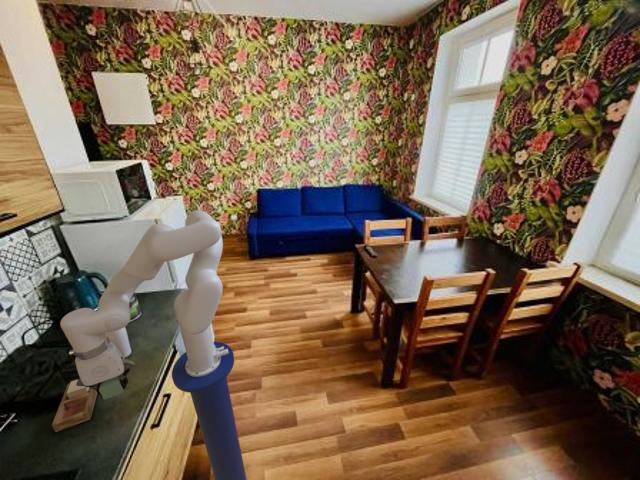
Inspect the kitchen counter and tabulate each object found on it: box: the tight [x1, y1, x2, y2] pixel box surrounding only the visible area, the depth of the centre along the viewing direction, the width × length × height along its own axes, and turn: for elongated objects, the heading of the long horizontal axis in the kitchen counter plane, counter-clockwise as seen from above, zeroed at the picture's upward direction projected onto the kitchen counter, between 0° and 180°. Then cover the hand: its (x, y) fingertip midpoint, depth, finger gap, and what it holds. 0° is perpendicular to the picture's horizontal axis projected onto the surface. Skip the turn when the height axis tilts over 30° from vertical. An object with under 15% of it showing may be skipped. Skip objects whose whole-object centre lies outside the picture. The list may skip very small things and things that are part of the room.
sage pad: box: [99, 376, 125, 401], centre depth 84 cm, size 5×5×4 cm
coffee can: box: [129, 291, 142, 323], centre depth 125 cm, size 10×10×14 cm
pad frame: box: [51, 383, 98, 433], centre depth 87 cm, size 8×16×3 cm, turn 28°
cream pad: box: [66, 379, 91, 399], centre depth 89 cm, size 5×5×4 cm
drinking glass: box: [105, 326, 132, 359], centre depth 104 cm, size 7×7×15 cm
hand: (114, 389), depth 85 cm, fingers closed on sage pad, 5 cm apart
